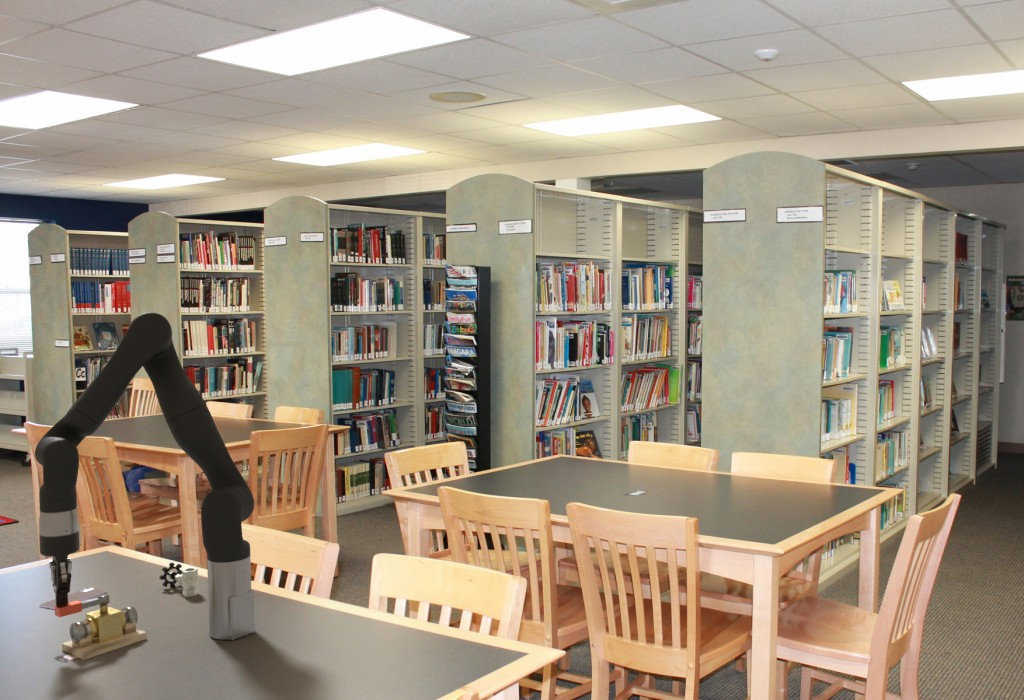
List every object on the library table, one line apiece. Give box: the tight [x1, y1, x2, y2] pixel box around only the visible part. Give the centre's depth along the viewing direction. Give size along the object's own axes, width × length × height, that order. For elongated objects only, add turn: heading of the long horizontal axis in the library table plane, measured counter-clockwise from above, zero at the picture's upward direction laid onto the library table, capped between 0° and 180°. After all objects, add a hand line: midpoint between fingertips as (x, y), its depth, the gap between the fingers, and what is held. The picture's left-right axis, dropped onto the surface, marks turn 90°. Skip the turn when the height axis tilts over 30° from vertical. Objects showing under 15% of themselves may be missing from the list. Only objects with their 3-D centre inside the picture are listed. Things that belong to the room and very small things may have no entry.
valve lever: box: [54, 593, 111, 618], centre depth 187 cm, size 11×2×2 cm, turn 141°
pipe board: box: [61, 622, 147, 660], centre depth 190 cm, size 9×14×4 cm, turn 144°
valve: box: [159, 561, 200, 598], centre depth 226 cm, size 7×7×12 cm
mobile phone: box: [39, 587, 108, 611], centre depth 221 cm, size 8×1×15 cm
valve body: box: [69, 603, 139, 644], centre depth 190 cm, size 5×13×8 cm, turn 144°
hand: (62, 610), depth 186 cm, fingers closed
